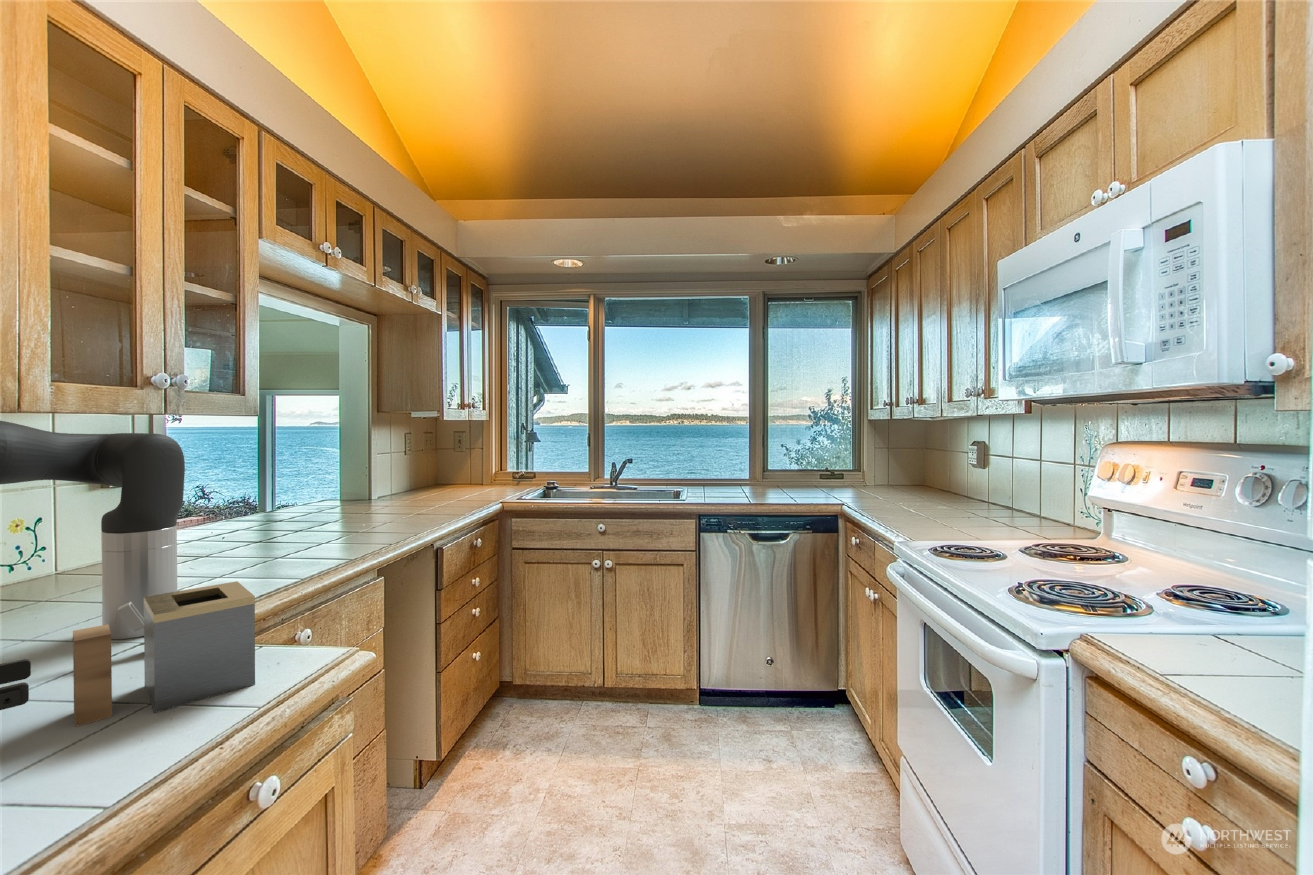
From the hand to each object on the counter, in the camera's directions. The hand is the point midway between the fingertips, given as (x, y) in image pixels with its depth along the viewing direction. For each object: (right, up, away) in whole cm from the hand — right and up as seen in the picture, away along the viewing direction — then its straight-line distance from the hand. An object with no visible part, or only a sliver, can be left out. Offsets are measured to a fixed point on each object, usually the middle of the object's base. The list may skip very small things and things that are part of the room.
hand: (29, 679), depth 61 cm
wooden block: (+3, -6, +4) cm, 8 cm away
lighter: (-6, -6, +22) cm, 23 cm away
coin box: (+10, -6, +11) cm, 16 cm away
